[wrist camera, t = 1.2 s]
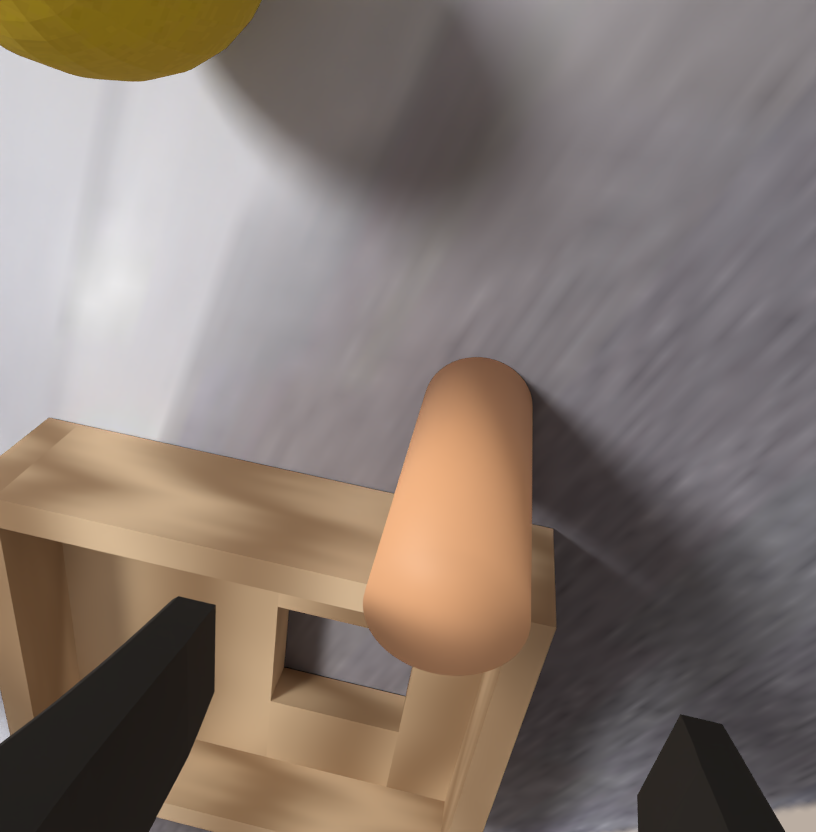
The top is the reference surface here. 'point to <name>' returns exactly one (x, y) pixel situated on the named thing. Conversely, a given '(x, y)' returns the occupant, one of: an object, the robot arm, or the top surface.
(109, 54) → the lemon
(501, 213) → the top surface
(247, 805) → the box
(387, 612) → the peg
